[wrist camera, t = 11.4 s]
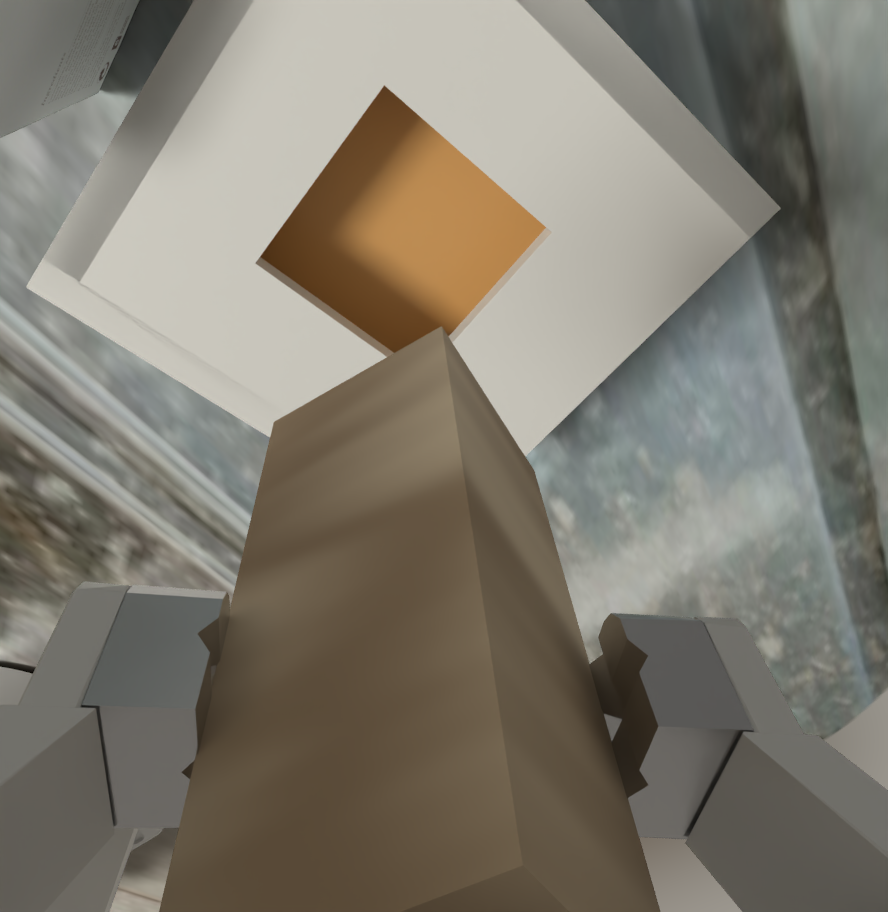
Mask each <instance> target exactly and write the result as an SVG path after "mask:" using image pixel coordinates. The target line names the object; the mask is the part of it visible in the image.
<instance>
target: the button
mask: <svg viewBox="0 0 888 912" xmlns="http://www.w3.org/2000/svg"><path fill="white" fill-rule="evenodd" d="M545 228H546V227H545V226H544V225H543V224H542V223H541V222H539V221H538V220H537V219H536V218H535V217H534V216H533V215H531V214H530V213H529V212H528V211H527V210H526V209H525V208H524V207H522V206H521V205H520V204H519V203H518V202H517V201H516V200H514V199H513V198H512V197H511V196H510V195H509V194H508V193H506V192H505V191H504V190H503V189H502V188H501V187H500V186H498V185H497V184H496V183H495V182H494V181H493V180H492V179H491V178H489V177H488V176H487V175H486V174H485V173H484V172H483V171H481V170H480V169H479V168H478V167H477V166H476V165H475V164H473V163H472V162H471V161H470V160H469V159H468V158H467V157H465V156H464V155H463V154H462V153H461V152H460V151H459V150H457V149H456V148H455V147H454V146H453V145H452V144H451V143H450V142H448V141H447V140H446V139H445V138H444V137H443V136H442V135H440V134H439V133H438V132H437V131H436V130H435V129H434V128H432V127H431V126H430V125H429V124H428V123H427V122H426V121H424V120H423V119H422V118H421V117H420V116H419V115H418V114H417V113H415V112H414V111H413V110H412V109H411V108H410V107H409V106H407V105H406V104H405V103H404V102H403V101H402V100H401V99H399V98H398V97H397V96H396V95H395V94H394V93H393V92H391V91H390V90H389V89H388V88H387V87H386V86H385V85H384V86H383V88H382V89H381V90H380V92H379V93H378V95H377V96H376V97H375V99H374V100H373V102H372V103H371V104H370V106H369V107H368V108H367V110H366V111H365V113H364V114H363V115H362V117H361V118H360V119H359V121H358V122H357V124H356V125H355V126H354V128H353V129H352V130H351V132H350V133H349V135H348V136H347V137H346V139H345V140H344V142H343V143H342V144H341V146H340V147H339V148H338V150H337V151H336V153H335V154H334V155H333V157H332V158H331V159H330V161H329V162H328V164H327V165H326V166H325V168H324V169H323V170H322V172H321V173H320V175H319V176H318V177H317V179H316V180H315V182H314V183H313V184H312V186H311V187H310V188H309V190H308V191H307V193H306V194H305V195H304V197H303V198H302V199H301V201H300V202H299V204H298V205H297V206H296V208H295V209H294V210H293V212H292V213H291V215H290V216H289V217H288V219H287V220H286V222H285V223H284V224H283V226H282V227H281V228H280V230H279V231H278V233H277V234H276V235H275V237H274V238H273V239H272V241H271V242H270V244H269V245H268V246H267V248H266V249H265V250H264V252H263V253H262V255H261V256H260V257H261V258H262V259H264V260H265V261H267V262H268V263H269V264H271V265H272V266H274V267H275V268H276V269H278V270H279V271H280V272H282V273H283V274H285V275H286V276H287V277H289V278H290V279H292V280H293V281H294V282H296V283H297V284H299V285H300V286H301V287H303V288H304V289H306V290H307V291H308V292H310V293H311V294H313V295H314V296H315V297H317V298H318V299H320V300H321V301H322V302H324V303H325V304H327V305H328V306H329V307H331V308H332V309H334V310H335V311H336V312H338V313H339V314H340V315H342V316H343V317H345V318H346V319H347V320H349V321H350V322H352V323H353V324H354V325H356V326H357V327H359V328H360V329H361V330H363V331H364V332H366V333H367V334H368V335H370V336H371V337H373V338H374V339H375V340H377V341H378V342H380V343H381V344H382V345H384V346H385V347H387V348H388V349H389V350H391V351H392V352H393V353H395V352H397V351H399V350H401V349H402V348H404V347H406V346H408V345H409V344H411V343H413V342H415V341H416V340H418V339H420V338H422V337H423V336H425V335H427V334H429V333H430V332H432V331H434V330H436V329H437V328H439V327H441V326H442V327H443V329H444V331H445V332H446V334H447V335H448V337H449V336H450V334H451V333H452V332H453V331H454V330H455V329H456V328H457V327H458V326H459V324H460V323H461V322H462V321H463V320H464V319H465V318H466V317H467V315H468V314H469V313H470V312H471V311H472V310H473V309H474V308H475V306H476V305H477V304H478V303H479V302H480V301H481V300H482V299H483V298H484V296H485V295H486V294H487V293H488V292H489V291H490V290H491V289H492V287H493V286H494V285H495V284H496V283H497V282H498V281H499V280H500V279H501V277H502V276H503V275H504V274H505V273H506V272H507V271H508V270H509V268H510V267H511V266H512V265H513V264H514V263H515V262H516V261H517V260H518V258H519V257H520V256H521V255H522V254H523V253H524V252H525V251H526V249H527V248H528V247H529V246H530V245H531V244H532V243H533V242H534V240H535V239H536V238H537V237H538V236H539V235H540V234H541V233H542V232H543V230H544V229H545Z"/></svg>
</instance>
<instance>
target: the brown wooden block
mask: <svg viewBox="0 0 888 912" xmlns="http://www.w3.org/2000/svg"><path fill="white" fill-rule="evenodd" d="M611 743H612V741H611V738H610V734H609V731H608V727H607V724H606V720H605V717H604V713H603V711H602V709H601V706H600V702H599V699H598V695H597V692H596V688H595V684H594V681H593V677H592V674H591V670H590V667H589V661H588V657H587V654H586V650H585V647H584V643H583V640H582V636H581V633H580V629H579V626H578V622H577V619H576V615H575V612H574V608H573V605H572V601H571V598H570V594H569V591H568V587H567V584H566V580H565V577H564V573H563V570H562V566H561V563H560V559H559V556H558V552H557V549H556V545H555V542H554V538H553V535H552V531H551V528H550V524H549V521H548V517H547V514H546V510H545V507H544V503H543V500H542V496H541V493H540V489H539V486H538V482H537V479H536V475H535V472H534V469H533V468H532V466H531V465H530V463H529V462H528V460H527V459H526V457H525V455H524V454H523V452H522V451H521V449H520V448H519V446H518V445H517V443H516V441H515V440H514V438H513V437H512V435H511V434H510V432H509V430H508V429H507V427H506V426H505V424H504V423H503V421H502V420H501V418H500V416H499V415H498V413H497V412H496V410H495V409H494V407H493V406H492V404H491V402H490V401H489V399H488V398H487V396H486V395H485V393H484V391H483V390H482V388H481V387H480V385H479V384H478V382H477V381H476V379H475V377H474V376H473V374H472V373H471V371H470V370H469V368H468V366H467V365H466V363H465V362H464V360H463V359H462V357H461V356H460V354H459V352H458V351H457V349H456V348H455V346H454V345H453V343H452V342H451V340H450V338H449V337H448V335H447V334H446V332H445V331H444V329H443V327H442V326H441V327H439V328H437V329H436V330H434V331H432V332H430V333H429V334H427V335H425V336H423V337H422V338H420V339H418V340H416V341H415V342H413V343H411V344H409V345H408V346H406V347H404V348H402V349H401V350H399V351H397V352H395V353H394V354H392V355H390V356H388V357H387V358H385V359H383V360H381V361H380V362H378V363H376V364H374V365H373V366H371V367H369V368H367V369H366V370H364V371H362V372H360V373H359V374H357V375H355V376H353V377H352V378H350V379H348V380H346V381H345V382H343V383H341V384H339V385H338V386H336V387H334V388H332V389H331V390H329V391H327V392H325V393H324V394H322V395H320V396H318V397H317V398H315V399H313V400H311V401H310V402H308V403H306V404H304V405H303V406H301V407H299V408H297V409H296V410H294V411H292V412H290V413H289V414H287V415H285V416H283V417H282V418H280V419H278V420H276V421H275V422H274V423H273V428H272V432H271V436H270V440H269V445H268V449H267V453H266V458H265V462H264V466H263V470H262V475H261V479H260V483H259V487H258V492H257V496H256V500H255V505H254V509H253V513H252V517H251V522H250V526H249V530H248V534H247V539H246V543H245V547H244V552H243V556H242V560H241V564H240V569H239V573H238V577H237V581H236V586H235V590H234V594H233V599H232V603H231V607H230V619H229V623H228V628H227V632H226V637H225V641H224V646H223V650H222V655H221V659H220V662H219V663H218V664H217V667H216V671H215V675H214V680H213V684H212V698H211V702H210V707H209V711H208V715H207V719H206V723H205V728H204V732H203V736H202V740H201V745H200V749H199V753H198V754H197V755H196V757H195V761H194V765H193V770H192V774H191V778H190V782H189V787H188V791H187V795H186V799H185V804H184V808H183V812H182V817H181V821H180V825H179V829H178V834H177V838H176V842H175V846H174V851H173V855H172V859H171V864H170V868H169V872H168V876H167V881H166V885H165V889H164V893H163V898H162V902H161V906H160V911H159V912H660V909H659V905H658V902H657V899H656V895H655V891H654V888H653V884H652V881H651V878H650V874H649V871H648V867H647V863H646V860H645V856H644V853H643V849H642V846H641V842H640V839H639V835H638V832H637V828H636V825H635V821H634V818H633V814H632V811H631V807H630V804H629V800H628V799H627V796H626V793H625V789H624V786H623V783H622V779H621V776H620V772H619V769H618V765H617V762H616V758H615V755H614V751H613V748H612V744H611Z"/></svg>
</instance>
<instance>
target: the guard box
mask: <svg viewBox="0 0 888 912" xmlns="http://www.w3.org/2000/svg"><path fill="white" fill-rule="evenodd" d="M384 85H385V86H386V87H387V88H388V89H389V90H390V91H391V92H393V93H394V94H395V95H396V96H397V97H398V98H399V99H401V100H402V101H403V102H404V103H405V104H406V105H407V106H409V107H410V108H411V109H412V110H413V111H414V112H415V113H417V114H418V115H419V116H420V117H421V118H422V119H423V120H424V121H426V122H427V123H428V124H429V125H430V126H431V127H432V128H434V129H435V130H436V131H437V132H438V133H439V134H440V135H442V136H443V137H444V138H445V139H446V140H447V141H448V142H450V143H451V144H452V145H453V146H454V147H455V148H456V149H457V150H459V151H460V152H461V153H462V154H463V155H464V156H465V157H467V158H468V159H469V160H470V161H471V162H472V163H473V164H475V165H476V166H477V167H478V168H479V169H480V170H481V171H483V172H484V173H485V174H486V175H487V176H488V177H489V178H491V179H492V180H493V181H494V182H495V183H496V184H497V185H498V186H500V187H501V188H502V189H503V190H504V191H505V192H506V193H508V194H509V195H510V196H511V197H512V198H513V199H514V200H516V201H517V202H518V203H519V204H520V205H521V206H522V207H524V208H525V209H526V210H527V211H528V212H529V213H530V214H531V215H533V216H534V217H535V218H536V219H537V220H538V221H539V222H541V223H542V224H543V225H544V226H545V227H546V228H545V229H544V230H543V232H542V233H541V234H540V235H539V236H538V237H537V238H536V239H535V240H534V242H533V243H532V244H531V245H530V246H529V247H528V248H527V249H526V251H525V252H524V253H523V254H522V255H521V256H520V257H519V258H518V260H517V261H516V262H515V263H514V264H513V265H512V266H511V267H510V268H509V270H508V271H507V272H506V273H505V274H504V275H503V276H502V277H501V279H500V280H499V281H498V282H497V283H496V284H495V285H494V286H493V287H492V289H491V290H490V291H489V292H488V293H487V294H486V295H485V296H484V298H483V299H482V300H481V301H480V302H479V303H478V304H477V305H476V306H475V308H474V309H473V310H472V311H471V312H470V313H469V314H468V315H467V317H466V318H465V319H464V320H463V321H462V322H461V323H460V324H459V326H458V327H457V328H456V329H455V330H454V331H453V332H452V333H451V334H450V336H449V338H450V340H451V342H452V343H453V345H454V346H455V348H456V349H457V351H458V352H459V354H460V356H461V357H462V359H463V360H464V362H465V363H466V365H467V366H468V368H469V370H470V371H471V373H472V374H473V376H474V377H475V379H476V381H477V382H478V384H479V385H480V387H481V388H482V390H483V391H484V393H485V395H486V396H487V398H488V399H489V401H490V402H491V404H492V406H493V407H494V409H495V410H496V412H497V413H498V415H499V416H500V418H501V420H502V421H503V423H504V424H505V426H506V427H507V429H508V430H509V432H510V434H511V435H512V437H513V438H514V440H515V441H516V443H517V445H518V446H519V448H520V449H521V451H522V452H523V454H524V455H525V456H526V455H527V454H528V453H529V452H530V451H531V450H532V449H534V448H535V447H536V446H537V445H538V444H539V443H540V442H541V441H542V440H543V439H544V438H545V437H546V436H547V435H548V434H549V433H550V432H551V431H552V430H553V429H554V428H555V427H556V426H557V425H558V424H559V423H560V422H561V421H562V420H563V419H564V418H565V417H566V416H568V415H569V414H570V413H571V412H572V411H573V410H574V409H575V408H576V407H577V406H578V405H579V404H580V403H581V402H582V401H583V400H584V399H585V398H586V397H587V396H588V395H589V394H590V393H591V392H592V391H593V390H594V389H595V388H596V387H597V386H598V385H599V384H601V383H602V382H603V381H604V380H605V379H606V378H607V377H608V376H609V375H610V374H611V373H612V372H613V371H614V370H615V369H616V368H617V367H618V366H619V365H620V364H621V363H622V362H623V361H624V360H625V359H626V358H627V357H628V356H629V355H630V354H631V353H632V352H633V351H635V350H636V349H637V348H638V347H639V346H640V345H641V344H642V343H643V342H644V341H645V340H646V339H647V338H648V337H649V336H650V335H651V334H652V333H653V332H654V331H655V330H656V329H657V328H658V327H659V326H660V325H661V324H662V323H663V322H664V321H665V320H666V319H668V318H669V317H670V316H671V315H672V314H673V313H674V312H675V311H676V310H677V309H678V308H679V307H680V306H681V305H682V304H683V303H684V302H685V301H686V300H687V299H688V298H689V297H690V296H691V295H692V294H693V293H694V292H695V291H696V290H697V289H698V288H699V287H700V286H702V285H703V284H704V283H705V282H706V281H707V280H708V279H709V278H710V277H711V276H712V275H713V274H714V273H715V272H716V271H717V270H718V269H719V268H720V267H721V266H722V265H723V264H724V263H725V262H726V261H727V260H728V259H729V258H730V257H731V256H732V255H733V254H734V253H736V252H737V251H738V250H739V249H740V248H741V247H742V246H743V245H744V244H745V243H746V242H747V241H748V240H749V239H750V238H751V237H752V236H753V235H754V234H755V233H756V232H757V231H758V230H759V229H760V228H761V227H762V226H763V225H764V224H765V223H766V222H767V221H769V220H770V219H771V218H772V217H773V216H774V215H775V214H776V213H777V212H778V211H779V210H780V209H781V208H780V207H779V206H778V205H777V204H776V203H775V202H774V200H773V199H772V198H771V197H770V196H769V195H768V194H767V193H766V192H765V191H764V190H763V189H762V188H761V187H760V186H759V185H758V183H757V182H756V181H755V180H754V179H753V178H752V177H751V176H750V175H749V174H748V173H747V172H746V171H745V170H744V169H743V167H742V166H741V165H740V164H739V163H738V162H737V161H736V160H735V159H734V158H733V157H732V156H731V155H730V154H729V153H728V152H727V150H726V149H725V148H724V147H723V146H722V145H721V144H720V143H719V142H718V141H717V140H716V139H715V138H714V137H713V136H712V134H711V133H710V132H709V131H708V130H707V129H706V128H705V127H704V126H703V125H702V124H701V123H700V122H699V121H698V120H697V119H696V117H695V116H694V115H693V114H692V113H691V112H690V111H689V110H688V109H687V108H686V107H685V106H684V105H683V104H682V103H681V102H680V100H679V99H678V98H677V97H676V96H675V95H674V94H673V93H672V92H671V91H670V90H669V89H668V88H667V87H666V86H665V84H664V83H663V82H662V81H661V80H660V79H659V78H658V77H657V76H656V75H655V74H654V73H653V72H652V71H651V70H650V69H649V67H648V66H647V65H646V64H645V63H644V62H643V61H642V60H641V59H640V58H639V57H638V56H637V55H636V54H635V53H634V51H633V50H632V49H631V48H630V47H629V46H628V45H627V44H626V43H625V42H624V41H623V40H622V39H621V38H620V37H619V36H618V34H617V33H616V32H615V31H614V30H613V29H612V28H611V27H610V26H609V25H608V24H607V23H606V22H605V21H604V20H603V18H602V17H601V16H600V15H599V14H598V13H597V12H596V11H595V10H594V9H593V8H592V7H591V6H590V5H589V4H588V3H587V1H586V0H194V1H193V3H192V4H191V6H190V8H189V9H188V11H187V13H186V15H185V16H184V18H183V20H182V21H181V23H180V25H179V27H178V28H177V30H176V32H175V33H174V35H173V37H172V39H171V40H170V42H169V44H168V45H167V47H166V49H165V50H164V52H163V54H162V56H161V57H160V59H159V61H158V62H157V64H156V66H155V68H154V69H153V71H152V73H151V74H150V76H149V78H148V80H147V81H146V83H145V85H144V86H143V88H142V90H141V92H140V93H139V95H138V97H137V98H136V100H135V102H134V103H133V105H132V107H131V109H130V110H129V112H128V114H127V115H126V117H125V119H124V121H123V122H122V124H121V126H120V127H119V129H118V131H117V133H116V134H115V136H114V138H113V139H112V141H111V143H110V144H109V146H108V148H107V150H106V151H105V153H104V155H103V156H102V158H101V160H100V162H99V163H98V165H97V167H96V168H95V170H94V172H93V174H92V175H91V177H90V179H89V180H88V182H87V184H86V186H85V187H84V189H83V191H82V192H81V194H80V196H79V197H78V199H77V201H76V203H75V204H74V206H73V208H72V209H71V211H70V213H69V215H68V216H67V218H66V220H65V221H64V223H63V225H62V227H61V228H60V230H59V232H58V233H57V235H56V237H55V239H54V240H53V242H52V244H51V245H50V247H49V249H48V250H47V252H46V254H45V256H44V257H43V259H42V261H41V262H40V264H39V266H38V268H37V269H36V271H35V273H34V274H33V276H32V278H31V280H30V281H29V283H28V285H27V286H26V288H28V289H30V290H31V291H33V292H35V293H36V294H38V295H39V296H41V297H43V298H44V299H46V300H48V301H49V302H51V303H52V304H54V305H56V306H57V307H59V308H61V309H62V310H64V311H65V312H67V313H69V314H70V315H72V316H74V317H75V318H77V319H78V320H80V321H82V322H83V323H85V324H86V325H88V326H90V327H91V328H93V329H95V330H96V331H98V332H99V333H101V334H103V335H104V336H106V337H108V338H109V339H111V340H112V341H114V342H116V343H117V344H119V345H121V346H122V347H124V348H125V349H127V350H129V351H130V352H132V353H134V354H135V355H137V356H138V357H140V358H142V359H143V360H145V361H147V362H148V363H150V364H151V365H153V366H155V367H156V368H158V369H160V370H161V371H163V372H164V373H166V374H168V375H169V376H171V377H173V378H174V379H176V380H177V381H179V382H181V383H182V384H184V385H185V386H187V387H189V388H190V389H192V390H194V391H195V392H197V393H198V394H200V395H202V396H203V397H205V398H207V399H208V400H210V401H211V402H213V403H215V404H216V405H218V406H220V407H221V408H223V409H224V410H226V411H228V412H229V413H231V414H233V415H234V416H236V417H237V418H239V419H241V420H242V421H244V422H246V423H247V424H249V425H250V426H252V427H254V428H255V429H257V430H259V431H260V432H262V433H263V434H265V435H267V436H268V437H270V436H271V432H272V428H273V423H274V422H275V421H276V420H278V419H280V418H282V417H283V416H285V415H287V414H289V413H290V412H292V411H294V410H296V409H297V408H299V407H301V406H303V405H304V404H306V403H308V402H310V401H311V400H313V399H315V398H317V397H318V396H320V395H322V394H324V393H325V392H327V391H329V390H331V389H332V388H334V387H336V386H338V385H339V384H341V383H343V382H345V381H346V380H348V379H350V378H352V377H353V376H355V375H357V374H359V373H360V372H362V371H364V370H366V369H367V368H369V367H371V366H373V365H374V364H376V363H378V362H380V361H381V360H383V359H385V358H387V357H388V356H390V355H392V354H394V353H393V352H392V351H391V350H389V349H388V348H387V347H385V346H384V345H382V344H381V343H380V342H378V341H377V340H375V339H374V338H373V337H371V336H370V335H368V334H367V333H366V332H364V331H363V330H361V329H360V328H359V327H357V326H356V325H354V324H353V323H352V322H350V321H349V320H347V319H346V318H345V317H343V316H342V315H340V314H339V313H338V312H336V311H335V310H334V309H332V308H331V307H329V306H328V305H327V304H325V303H324V302H322V301H321V300H320V299H318V298H317V297H315V296H314V295H313V294H311V293H310V292H308V291H307V290H306V289H304V288H303V287H301V286H300V285H299V284H297V283H296V282H294V281H293V280H292V279H290V278H289V277H287V276H286V275H285V274H283V273H282V272H280V271H279V270H278V269H276V268H275V267H274V266H272V265H271V264H269V263H268V262H267V261H265V260H264V259H262V258H261V257H260V256H261V255H262V253H263V252H264V250H265V249H266V248H267V246H268V245H269V244H270V242H271V241H272V239H273V238H274V237H275V235H276V234H277V233H278V231H279V230H280V228H281V227H282V226H283V224H284V223H285V222H286V220H287V219H288V217H289V216H290V215H291V213H292V212H293V210H294V209H295V208H296V206H297V205H298V204H299V202H300V201H301V199H302V198H303V197H304V195H305V194H306V193H307V191H308V190H309V188H310V187H311V186H312V184H313V183H314V182H315V180H316V179H317V177H318V176H319V175H320V173H321V172H322V170H323V169H324V168H325V166H326V165H327V164H328V162H329V161H330V159H331V158H332V157H333V155H334V154H335V153H336V151H337V150H338V148H339V147H340V146H341V144H342V143H343V142H344V140H345V139H346V137H347V136H348V135H349V133H350V132H351V130H352V129H353V128H354V126H355V125H356V124H357V122H358V121H359V119H360V118H361V117H362V115H363V114H364V113H365V111H366V110H367V108H368V107H369V106H370V104H371V103H372V102H373V100H374V99H375V97H376V96H377V95H378V93H379V92H380V90H381V89H382V88H383V86H384Z"/></svg>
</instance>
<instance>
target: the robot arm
mask: <svg viewBox="0 0 888 912" xmlns="http://www.w3.org/2000/svg"><path fill="white" fill-rule="evenodd" d="M229 619H230V602H229V595H228V593H227V592H220V591H207V590H195V589H182V588H170V587H157V586H144V585H132V586H129V585H117V584H106V583H94V582H83V583H82V584H80V585H79V586H78V587H77V588H76V589H75V590H74V591H73V592H72V594H71V596H70V598H69V601H68V603H67V605H66V607H65V609H64V611H63V613H62V615H61V617H60V619H59V621H58V623H57V625H56V627H55V629H54V631H53V633H52V635H51V637H50V640H49V642H48V644H47V646H46V648H45V650H44V652H43V654H42V656H41V658H40V660H39V662H38V664H37V666H36V668H35V670H34V672H33V674H32V673H28V672H24V671H20V670H15V669H10V668H5V667H0V912H109V911H110V908H111V906H112V903H113V900H114V897H115V894H116V891H117V889H118V886H119V883H120V880H121V877H122V874H123V871H124V869H125V866H126V863H127V860H128V857H129V854H130V851H132V850H134V849H135V848H137V847H139V846H141V845H142V844H144V843H146V842H147V841H149V840H151V839H152V838H154V837H156V836H157V835H158V834H160V833H161V832H162V830H163V828H179V825H180V821H181V817H182V812H183V808H184V804H185V799H186V795H187V791H188V787H189V782H190V778H191V774H192V770H193V765H194V761H195V757H196V755H197V754H198V753H199V749H200V745H201V740H202V736H203V732H204V728H205V723H206V719H207V715H208V711H209V707H210V702H211V698H212V684H213V680H214V675H215V671H216V667H217V664H218V663H219V662H220V659H221V655H222V650H223V646H224V641H225V637H226V632H227V628H228V623H229ZM598 638H599V641H600V644H601V648H602V651H603V655H601V656H600V657H599V658H597V659H596V660H595V661H593V662H592V663H591V664H589V667H590V670H591V674H592V677H593V681H594V684H595V688H596V692H597V695H598V699H599V702H600V706H601V709H602V711H603V713H604V717H605V720H606V724H607V727H608V731H609V734H610V738H611V741H612V743H611V744H612V748H613V751H614V755H615V758H616V762H617V765H618V769H619V772H620V776H621V779H622V783H623V786H624V789H625V793H626V796H627V799H628V800H629V804H630V807H631V811H632V814H633V818H634V821H635V825H636V828H637V832H638V835H639V837H652V838H672V839H687V841H686V844H687V846H688V847H689V848H690V849H691V850H692V852H693V853H694V854H695V855H696V856H697V858H698V859H699V860H700V861H701V862H702V864H703V865H704V866H705V867H706V868H707V870H708V871H709V872H710V873H711V874H712V875H713V877H714V878H715V879H716V880H717V882H718V883H719V884H720V885H721V886H722V888H723V889H724V890H725V891H726V892H727V894H728V895H729V896H730V897H731V898H732V899H733V901H734V902H735V903H736V904H737V906H738V907H739V908H740V909H741V910H742V912H888V790H887V789H885V788H884V787H883V786H882V785H880V784H879V783H878V782H877V781H875V780H874V779H873V778H871V777H870V776H869V775H868V774H866V773H865V772H864V771H862V770H861V769H860V768H859V767H857V766H856V765H855V764H853V763H852V762H851V761H850V760H848V759H847V758H846V757H845V756H843V755H842V754H841V753H839V752H838V751H837V750H836V749H834V748H833V747H832V746H830V745H829V744H828V743H827V742H825V741H824V740H823V739H821V738H820V737H819V736H818V735H808V734H804V733H803V731H802V729H801V728H800V726H799V724H798V722H797V720H796V718H795V717H794V715H793V713H792V711H791V709H790V707H789V705H788V704H787V702H786V700H785V698H784V696H783V694H782V692H781V691H780V689H779V687H778V685H777V683H776V681H775V680H774V678H773V676H772V674H771V672H770V670H769V668H768V667H767V665H766V663H765V661H764V659H763V657H762V656H761V654H760V652H759V650H758V648H757V646H756V644H755V643H754V641H753V639H752V637H751V635H750V633H749V632H748V630H747V628H746V626H745V625H744V624H743V623H742V622H740V621H739V620H738V619H735V618H711V617H694V618H691V617H680V616H659V615H638V614H616V613H611V614H610V615H609V616H608V617H607V619H606V620H605V621H604V623H603V626H602V629H601V632H600V634H599V637H598Z"/></svg>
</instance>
